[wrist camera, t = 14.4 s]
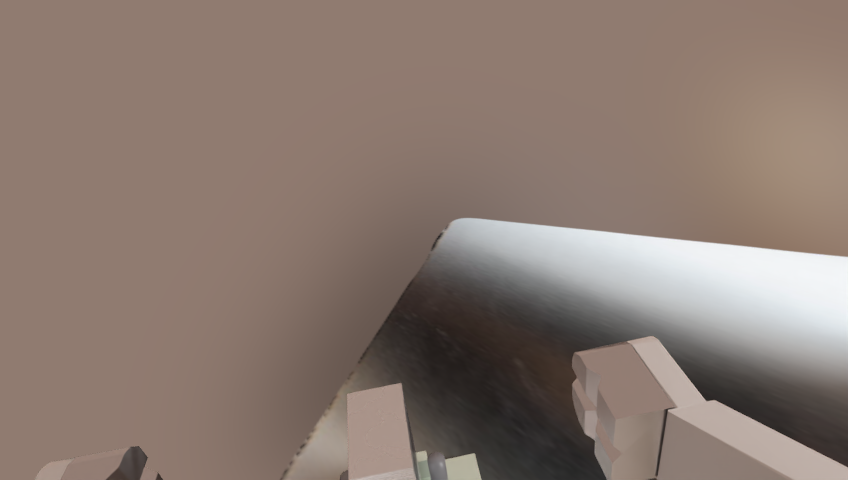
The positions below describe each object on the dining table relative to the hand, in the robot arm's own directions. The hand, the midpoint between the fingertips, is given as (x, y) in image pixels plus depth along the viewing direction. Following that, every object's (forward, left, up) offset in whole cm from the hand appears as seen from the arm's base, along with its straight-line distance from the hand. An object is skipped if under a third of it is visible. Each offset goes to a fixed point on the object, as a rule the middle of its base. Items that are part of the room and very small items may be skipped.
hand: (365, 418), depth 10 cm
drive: (+2, -14, -27) cm, 31 cm away
